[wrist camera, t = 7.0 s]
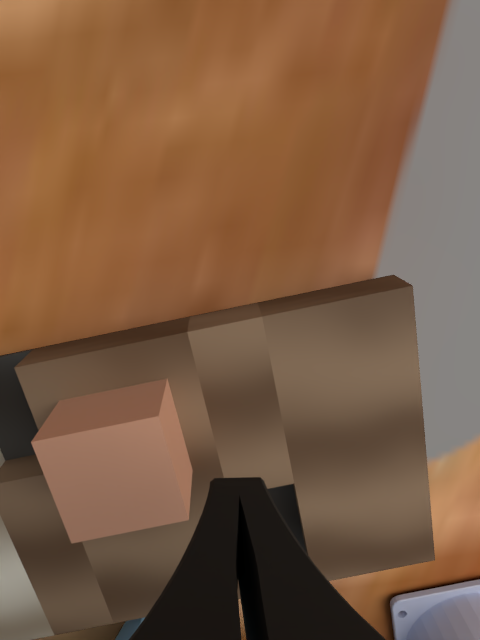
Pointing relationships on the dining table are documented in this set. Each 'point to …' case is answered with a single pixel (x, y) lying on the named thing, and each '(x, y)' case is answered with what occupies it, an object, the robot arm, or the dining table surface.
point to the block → (116, 461)
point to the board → (228, 446)
